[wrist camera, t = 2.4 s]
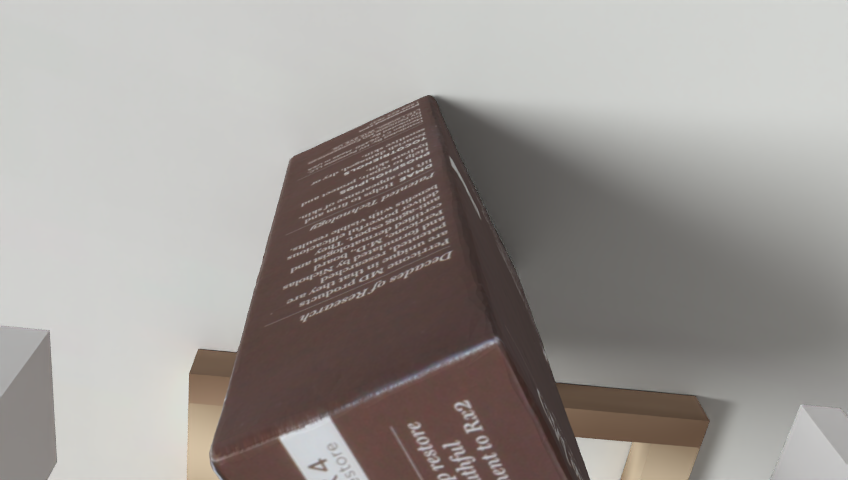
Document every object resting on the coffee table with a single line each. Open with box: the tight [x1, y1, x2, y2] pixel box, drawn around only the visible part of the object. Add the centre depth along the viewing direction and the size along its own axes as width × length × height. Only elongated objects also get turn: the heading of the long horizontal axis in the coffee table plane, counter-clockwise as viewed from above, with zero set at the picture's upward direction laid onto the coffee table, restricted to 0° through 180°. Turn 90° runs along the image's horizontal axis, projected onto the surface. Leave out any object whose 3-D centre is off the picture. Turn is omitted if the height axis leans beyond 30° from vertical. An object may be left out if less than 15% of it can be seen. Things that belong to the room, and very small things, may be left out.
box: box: [209, 95, 590, 480], centre depth 16 cm, size 6×4×12 cm
